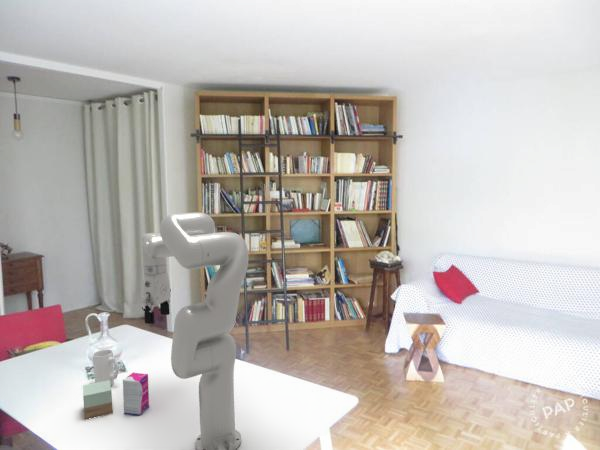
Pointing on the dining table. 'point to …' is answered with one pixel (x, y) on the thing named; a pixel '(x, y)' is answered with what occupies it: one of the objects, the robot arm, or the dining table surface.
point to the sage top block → (97, 394)
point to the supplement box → (135, 394)
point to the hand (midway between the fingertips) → (157, 318)
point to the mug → (104, 366)
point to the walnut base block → (98, 410)
